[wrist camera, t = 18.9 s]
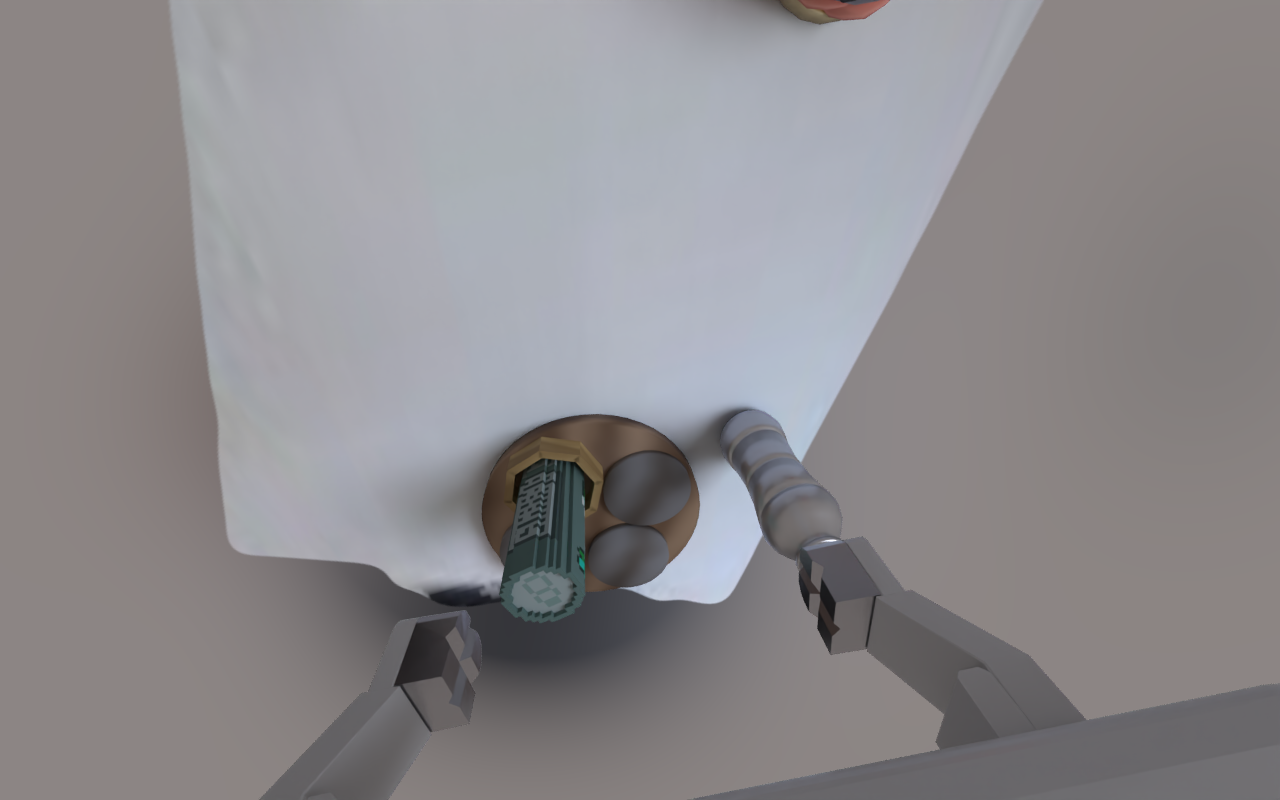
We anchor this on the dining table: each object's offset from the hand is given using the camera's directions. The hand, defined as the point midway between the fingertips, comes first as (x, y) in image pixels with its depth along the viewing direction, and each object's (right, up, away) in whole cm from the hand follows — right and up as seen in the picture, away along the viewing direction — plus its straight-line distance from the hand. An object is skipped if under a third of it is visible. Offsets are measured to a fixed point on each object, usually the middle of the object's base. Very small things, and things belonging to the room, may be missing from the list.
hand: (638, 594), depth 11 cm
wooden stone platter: (-5, -7, +42) cm, 43 cm away
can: (-9, -3, +37) cm, 38 cm away
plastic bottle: (+11, +2, +40) cm, 41 cm away
